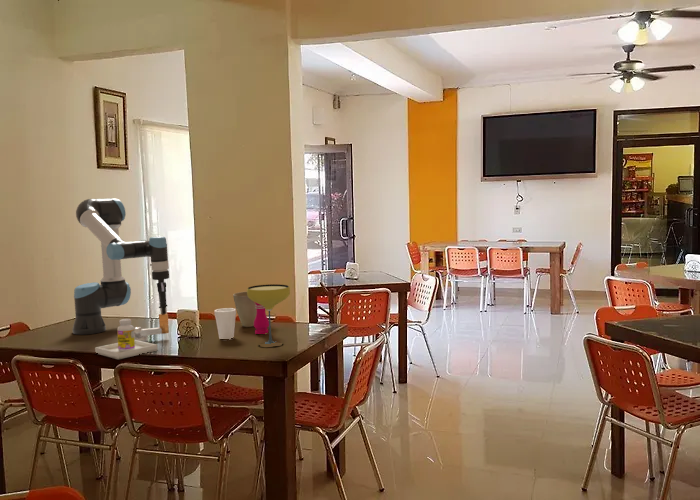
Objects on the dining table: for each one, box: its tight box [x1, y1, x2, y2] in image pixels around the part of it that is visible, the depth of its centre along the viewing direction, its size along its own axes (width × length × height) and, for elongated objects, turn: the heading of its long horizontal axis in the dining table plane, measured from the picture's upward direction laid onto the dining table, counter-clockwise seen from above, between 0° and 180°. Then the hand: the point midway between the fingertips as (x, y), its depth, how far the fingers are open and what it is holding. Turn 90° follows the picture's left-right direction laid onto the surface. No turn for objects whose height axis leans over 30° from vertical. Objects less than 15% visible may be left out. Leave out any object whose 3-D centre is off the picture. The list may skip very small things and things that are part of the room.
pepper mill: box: [253, 302, 269, 335], centre depth 305 cm, size 7×7×20 cm
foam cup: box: [214, 307, 237, 340], centre depth 297 cm, size 10×9×13 cm
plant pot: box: [232, 291, 257, 328], centre depth 326 cm, size 15×15×16 cm
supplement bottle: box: [116, 318, 135, 351], centre depth 276 cm, size 7×7×13 cm
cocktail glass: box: [246, 283, 291, 344], centre depth 281 cm, size 18×18×25 cm
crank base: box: [134, 334, 149, 343], centre depth 294 cm, size 9×9×4 cm
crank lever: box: [133, 313, 170, 337], centre depth 296 cm, size 16×4×8 cm, turn 113°
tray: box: [94, 340, 158, 360], centre depth 276 cm, size 18×18×2 cm
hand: (164, 321), depth 302 cm, fingers closed
